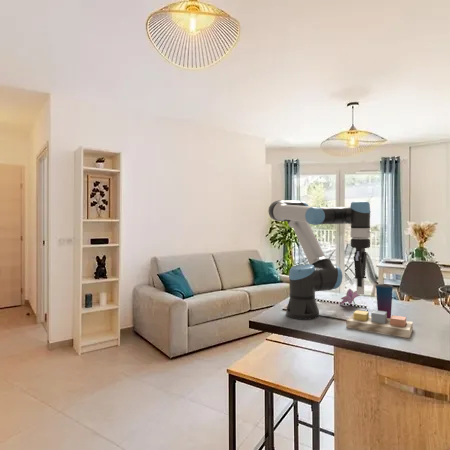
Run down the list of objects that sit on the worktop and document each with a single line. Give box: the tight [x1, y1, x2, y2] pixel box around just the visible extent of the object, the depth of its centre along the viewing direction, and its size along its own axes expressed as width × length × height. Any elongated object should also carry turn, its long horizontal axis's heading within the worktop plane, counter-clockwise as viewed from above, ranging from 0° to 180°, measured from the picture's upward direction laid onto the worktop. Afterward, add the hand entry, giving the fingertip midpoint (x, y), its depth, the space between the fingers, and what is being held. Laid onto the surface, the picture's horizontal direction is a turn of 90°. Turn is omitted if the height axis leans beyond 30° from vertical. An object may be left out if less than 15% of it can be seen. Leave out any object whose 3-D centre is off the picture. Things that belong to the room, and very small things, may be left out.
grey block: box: [370, 309, 387, 324], centre depth 135 cm, size 5×5×4 cm
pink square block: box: [390, 314, 407, 327], centre depth 131 cm, size 5×5×4 cm
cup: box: [375, 283, 394, 318], centre depth 147 cm, size 7×7×15 cm
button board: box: [345, 314, 414, 339], centre depth 135 cm, size 23×12×3 cm, turn 55°
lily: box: [339, 288, 361, 309], centre depth 168 cm, size 12×12×10 cm
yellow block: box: [353, 309, 370, 321], centre depth 139 cm, size 5×5×4 cm
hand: (360, 293), depth 139 cm, fingers closed
